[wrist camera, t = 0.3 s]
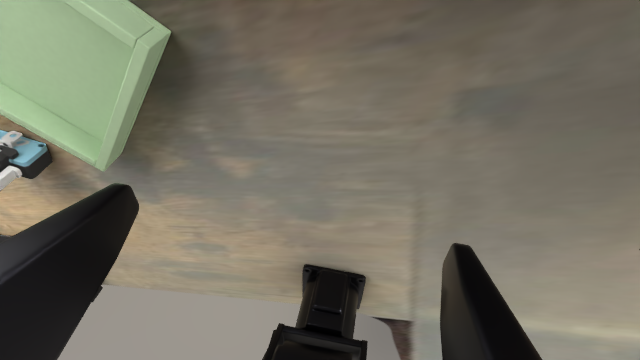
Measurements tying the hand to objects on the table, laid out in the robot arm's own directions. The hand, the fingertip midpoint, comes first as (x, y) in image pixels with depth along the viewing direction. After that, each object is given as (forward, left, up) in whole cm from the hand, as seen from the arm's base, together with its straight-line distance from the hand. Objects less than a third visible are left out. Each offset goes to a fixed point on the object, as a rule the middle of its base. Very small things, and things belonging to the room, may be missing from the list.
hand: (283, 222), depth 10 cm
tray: (-2, +22, -14) cm, 26 cm away
